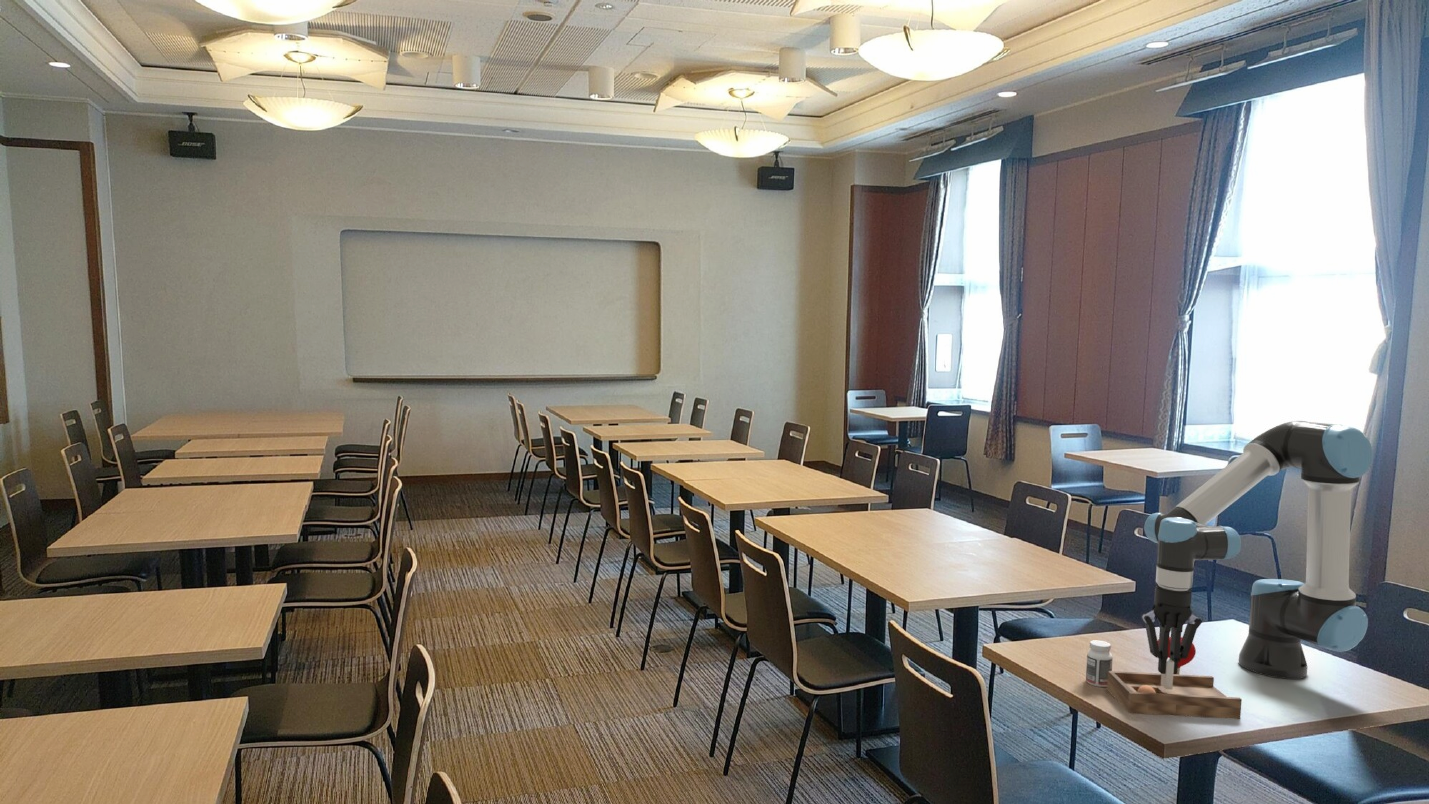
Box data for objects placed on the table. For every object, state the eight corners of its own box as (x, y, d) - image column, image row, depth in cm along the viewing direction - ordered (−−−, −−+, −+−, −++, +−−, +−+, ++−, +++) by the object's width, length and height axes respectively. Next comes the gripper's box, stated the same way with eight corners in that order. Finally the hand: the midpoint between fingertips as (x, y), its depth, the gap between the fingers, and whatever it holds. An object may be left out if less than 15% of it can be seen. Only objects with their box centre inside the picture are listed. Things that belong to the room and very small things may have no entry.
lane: (1210, 694, 219) (1211, 676, 219) (1240, 719, 205) (1241, 699, 205) (1106, 689, 220) (1108, 670, 220) (1129, 713, 207) (1130, 693, 206)
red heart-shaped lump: (1157, 680, 227) (1160, 640, 227) (1149, 670, 234) (1151, 631, 234) (1198, 683, 226) (1201, 643, 225) (1188, 673, 233) (1191, 634, 232)
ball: (1154, 695, 215) (1148, 680, 214) (1161, 702, 211) (1155, 686, 210) (1138, 701, 215) (1131, 686, 215) (1144, 708, 211) (1138, 692, 211)
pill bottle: (1111, 681, 226) (1113, 641, 225) (1110, 689, 221) (1113, 648, 220) (1086, 677, 228) (1088, 638, 227) (1084, 684, 223) (1087, 644, 222)
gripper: (1195, 583, 214) (1188, 682, 216) (1137, 580, 215) (1131, 679, 217) (1210, 592, 207) (1203, 695, 208) (1150, 589, 207) (1143, 691, 209)
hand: (1166, 687), depth 212 cm, fingers closed
